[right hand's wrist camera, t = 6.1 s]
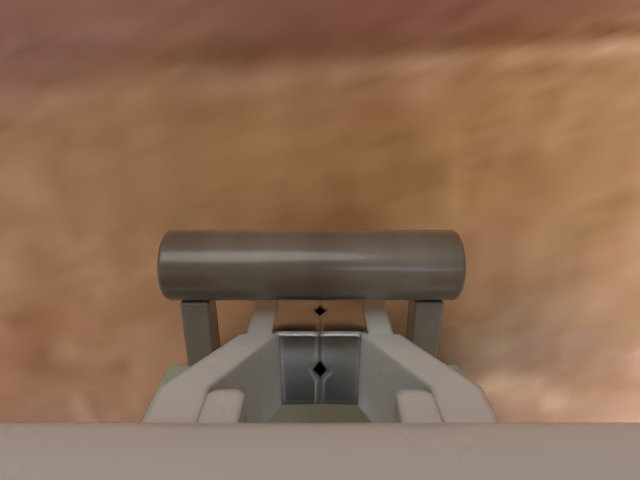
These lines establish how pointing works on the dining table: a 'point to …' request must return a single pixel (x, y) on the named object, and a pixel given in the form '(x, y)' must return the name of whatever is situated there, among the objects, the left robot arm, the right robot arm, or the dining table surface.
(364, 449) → the right robot arm
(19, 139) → the dining table surface
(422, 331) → the drawer
